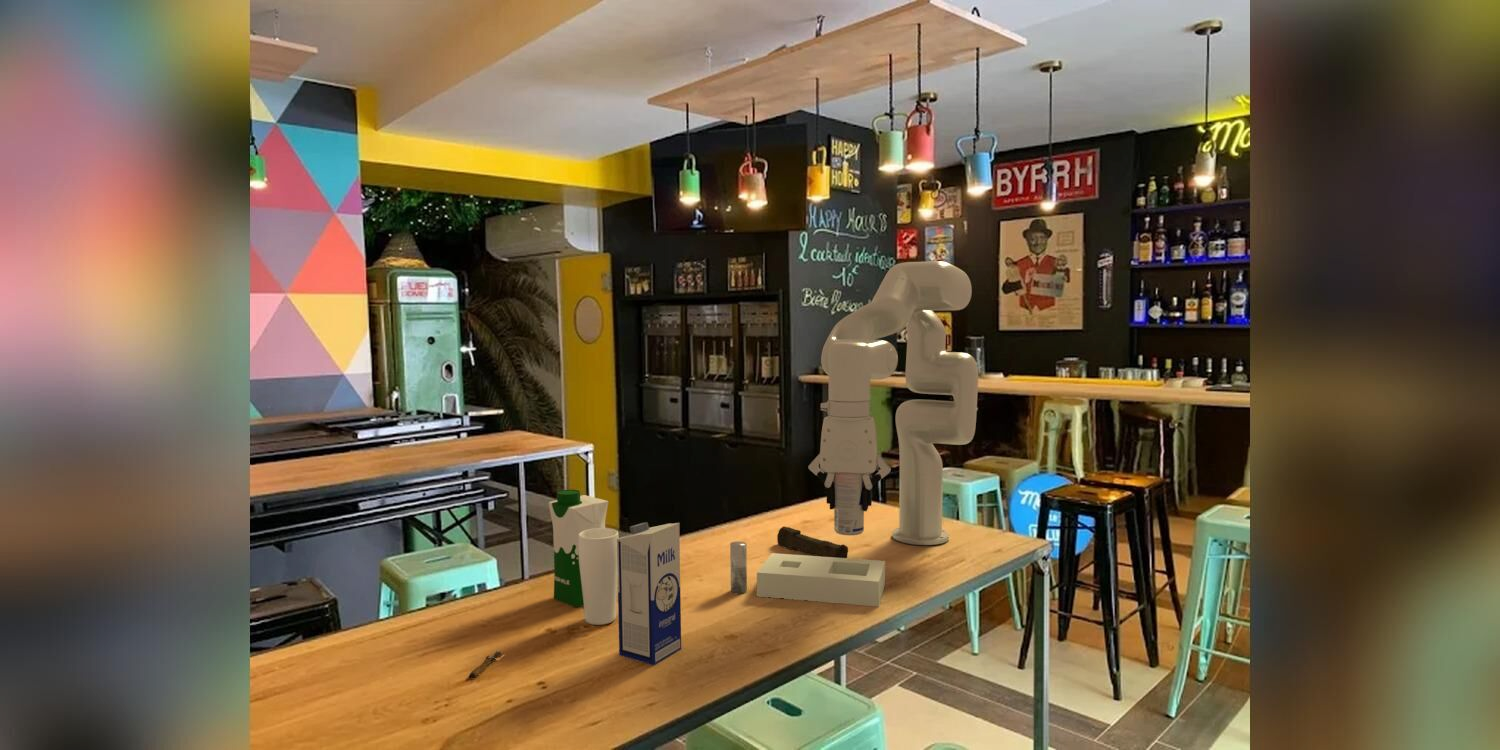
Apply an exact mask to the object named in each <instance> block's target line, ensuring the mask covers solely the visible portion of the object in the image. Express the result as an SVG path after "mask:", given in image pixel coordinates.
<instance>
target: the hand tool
mask: <svg viewBox="0 0 1500 750" xmlns="http://www.w3.org/2000/svg"><path fill="white" fill-rule="evenodd" d="M801 532H802V531H801V530H799V529H795V528H792V527H789V526H782V527H781V528H779V530H778V532H777V535H776V536H777V537H776V538H777V539H776V540H777V544H778V545H779V546H780V545H781V546H780V547H782V546H783V547H782V548H784V547H786V548H785V549H787V548H788V549H787V550H789V549H790V550H789V551H792V550H793V551H801V552H805V553H807V554H811V555H813V556H820V557H835V558H848V556H849V555H848V553H849V547H848V546H847V545H846V544H837V543H833V542H832V541H828V540H822V539H818V538H814V537H812V536H808V535H806V534H802V533H801Z"/></svg>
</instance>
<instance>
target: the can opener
mask: <svg viewBox="0 0 1500 750" xmlns="http://www.w3.org/2000/svg"><path fill="white" fill-rule="evenodd" d="M499 655H501V651H499V650H496V651H495V653H494V654H493V656H492V657H490V655H486V657H485V660H484V661H483V662H482V663H481V664H480V665H479V666H477V667H475V669H474V670H472V671H471V672H470V673H469V675H468V679H469V678H475V679H477V678H478V677H479V676H480V675H482V674H483V673H484V671H485V670H487V668H488V667H490V666H491V665H492V663H493V662H495V661H494V660H496V659H495V658H497V657H498V656H499ZM492 661H493V662H492ZM490 664H491V665H490ZM489 665H490V666H489ZM486 667H487V668H486ZM484 669H485V670H484ZM479 674H480V675H479ZM478 675H479V676H478ZM477 676H478V677H477ZM476 677H477V678H476Z"/></svg>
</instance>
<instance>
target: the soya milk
mask: <svg viewBox="0 0 1500 750" xmlns="http://www.w3.org/2000/svg"><path fill="white" fill-rule="evenodd" d="M556 497H557V498H556V500H551V501H549V502H548V507H549V513H550V517H551V523H552V530H553V531H552V533H553V534H552V535H553V563H554V564H553V565H554V567H553V568H554V569H553V570H554V572H553V573H554V574H553V575H554V577H553V578H554V580H553V581H554V582H553V583H554V584H553V599H554V600H557V601H559V602H561V603H563V604H566V605H568V606H570V607H572V608H573V607H574V608H575V609H576V608H579V607H582V606H583V607H584V603H583V594H582V585H581V576H580V568H579V557H578V535H579V533H580V532H582V531H585V530H589V529H595V528H606V517H607V510H608V506H609V501H608V500H605V499H602V498H598V497H593V496H590V495H585V494H584V495H583V494H582V495H581V491H580V490H579V489H563V490H559V491H558V492H557V493H556Z"/></svg>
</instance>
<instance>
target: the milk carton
mask: <svg viewBox="0 0 1500 750" xmlns="http://www.w3.org/2000/svg"><path fill="white" fill-rule="evenodd" d="M629 530H630V534H627V535H623V536H621V537H619V538H618V539H616V540H617V572H618V585H617V602H618V603H617V605H618V607H617V609H618V610H617V611H618V613H617V614H618V648H619V649H618V650H619V656H620V655H621V656H620V657H623V656H624V657H623V658H627V657H628V659H630V658H631V660H634V659H635V660H634V661H637V660H638V662H641V661H642V662H641V663H645V664H648V663H649V664H648V665H652V666H655V665H656V664H658V663H660V662H661V661H663V660H665V659H666V658H668V657H670V656H671V654H672V655H674V654H676V653H677V652H678V651H680V650H682V625H681V624H682V620H681V619H682V615H681V614H682V611H681V609H682V607H681V603H682V602H681V600H682V599H681V555H680V554H681V548H680V545H681V543H680V542H681V541H680V522H675V523H671V522H670V523H665V524H661V525H657V526H652V527H650V526H649V523H648V521H645V522H641V523H638V524H635V525H631V526H629Z"/></svg>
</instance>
